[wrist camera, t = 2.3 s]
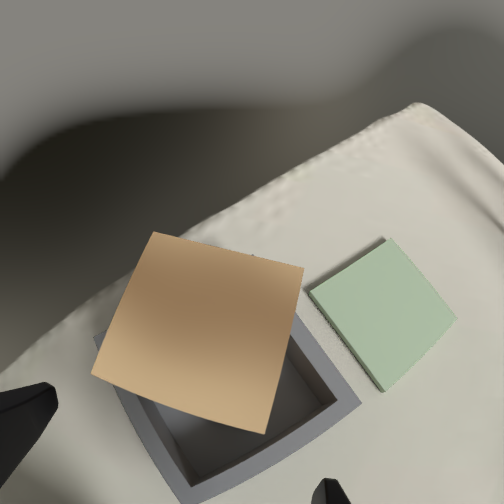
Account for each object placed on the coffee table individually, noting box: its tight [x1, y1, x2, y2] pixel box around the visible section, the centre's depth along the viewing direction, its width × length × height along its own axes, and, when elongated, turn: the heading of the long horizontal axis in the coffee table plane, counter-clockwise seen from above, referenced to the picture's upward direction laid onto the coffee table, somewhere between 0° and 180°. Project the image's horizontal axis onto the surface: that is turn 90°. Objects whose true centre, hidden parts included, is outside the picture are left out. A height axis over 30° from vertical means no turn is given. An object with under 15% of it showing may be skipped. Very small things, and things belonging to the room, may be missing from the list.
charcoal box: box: [93, 254, 362, 504], centre depth 17 cm, size 11×11×4 cm
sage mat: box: [308, 238, 457, 393], centre depth 22 cm, size 9×9×1 cm
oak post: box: [91, 232, 304, 434], centre depth 13 cm, size 5×5×12 cm
